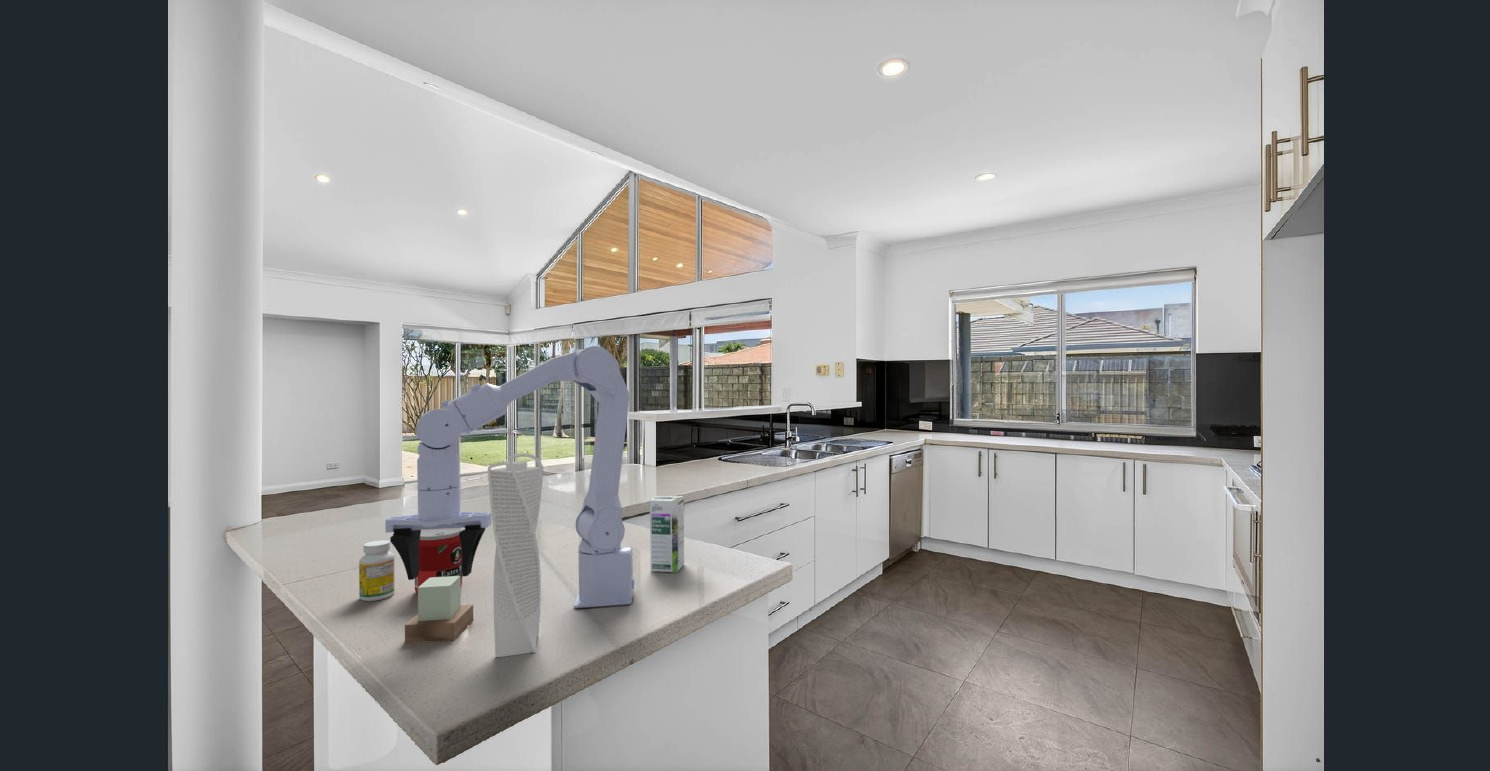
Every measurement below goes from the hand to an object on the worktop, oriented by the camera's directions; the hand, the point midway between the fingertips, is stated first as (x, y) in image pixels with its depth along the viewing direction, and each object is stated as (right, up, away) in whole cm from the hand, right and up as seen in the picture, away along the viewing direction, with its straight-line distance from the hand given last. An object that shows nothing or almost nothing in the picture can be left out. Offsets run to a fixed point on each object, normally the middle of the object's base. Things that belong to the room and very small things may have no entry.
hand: (440, 576), depth 86 cm
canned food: (-10, -9, +18) cm, 22 cm away
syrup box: (+31, -8, +29) cm, 43 cm away
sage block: (0, -6, 0) cm, 6 cm away
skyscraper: (+14, -8, -6) cm, 18 cm away
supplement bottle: (-20, -9, +15) cm, 26 cm away
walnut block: (0, -9, 0) cm, 9 cm away
